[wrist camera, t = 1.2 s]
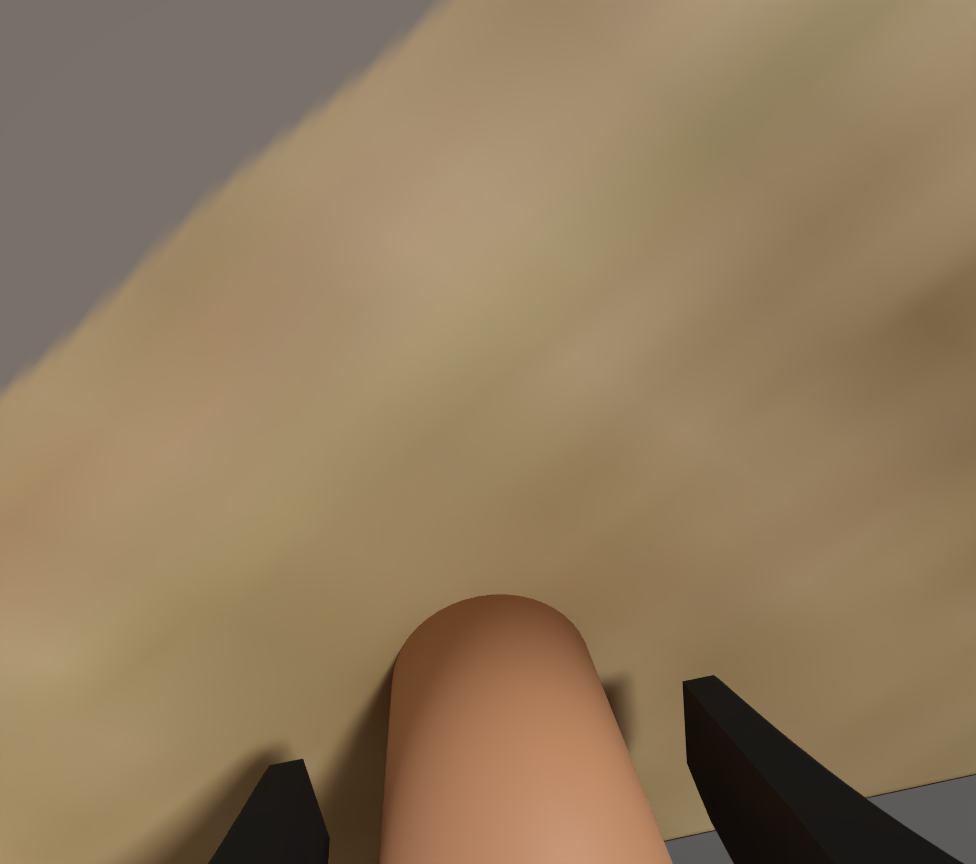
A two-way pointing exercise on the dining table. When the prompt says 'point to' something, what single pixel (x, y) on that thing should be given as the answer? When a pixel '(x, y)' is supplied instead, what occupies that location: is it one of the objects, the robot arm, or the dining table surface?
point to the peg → (508, 747)
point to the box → (925, 810)
